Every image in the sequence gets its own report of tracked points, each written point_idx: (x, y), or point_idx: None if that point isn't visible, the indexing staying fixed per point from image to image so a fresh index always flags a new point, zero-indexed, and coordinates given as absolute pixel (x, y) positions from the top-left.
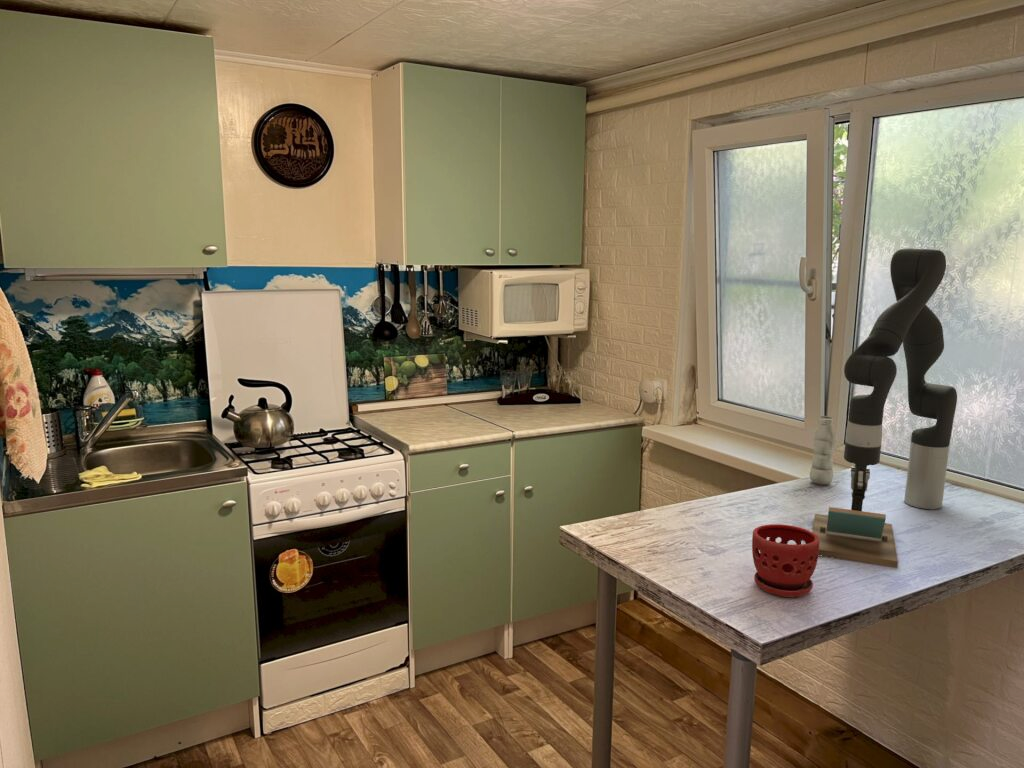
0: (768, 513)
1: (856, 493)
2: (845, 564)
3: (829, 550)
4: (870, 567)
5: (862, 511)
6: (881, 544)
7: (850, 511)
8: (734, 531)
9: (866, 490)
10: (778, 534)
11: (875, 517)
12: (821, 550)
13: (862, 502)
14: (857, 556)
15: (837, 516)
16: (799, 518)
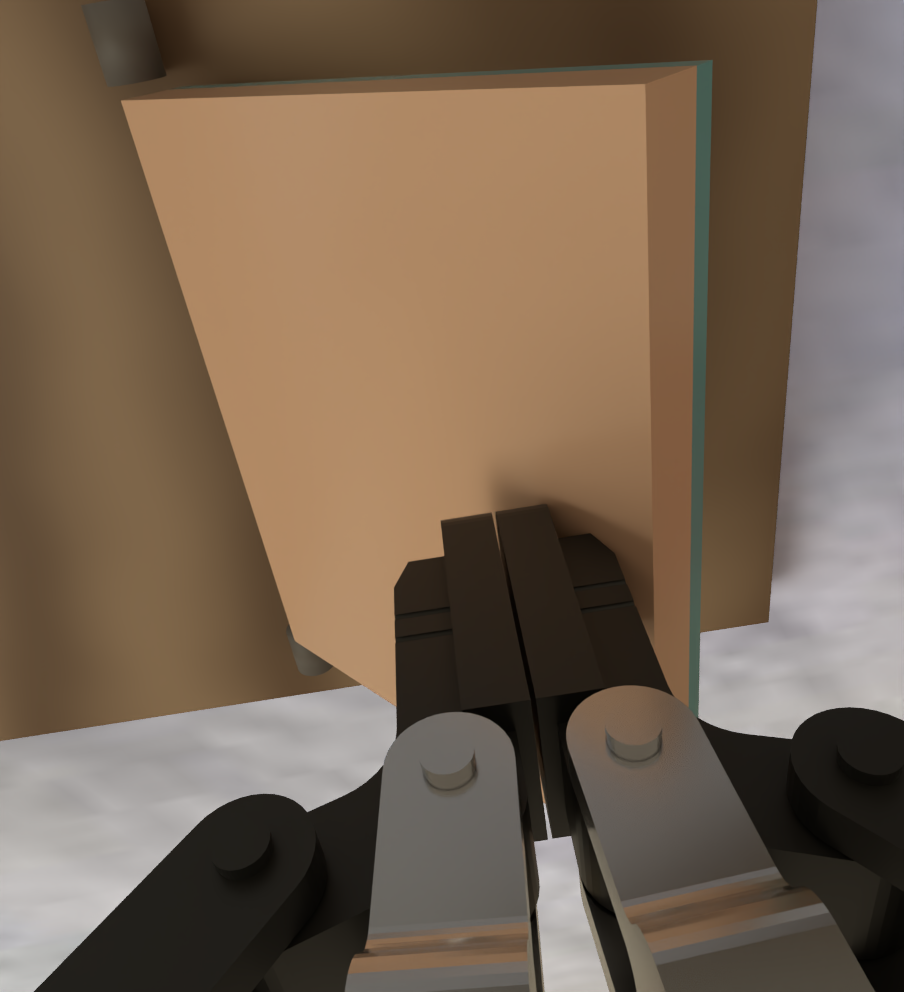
0: (83, 930)
1: (879, 940)
2: (868, 329)
3: (763, 505)
4: (874, 100)
5: (658, 523)
6: (315, 58)
7: (670, 655)
8: (544, 963)
9: (804, 890)
10: None
11: (707, 270)
12: (772, 554)
13: (588, 644)
14: (791, 264)
15: None
16: (8, 789)
